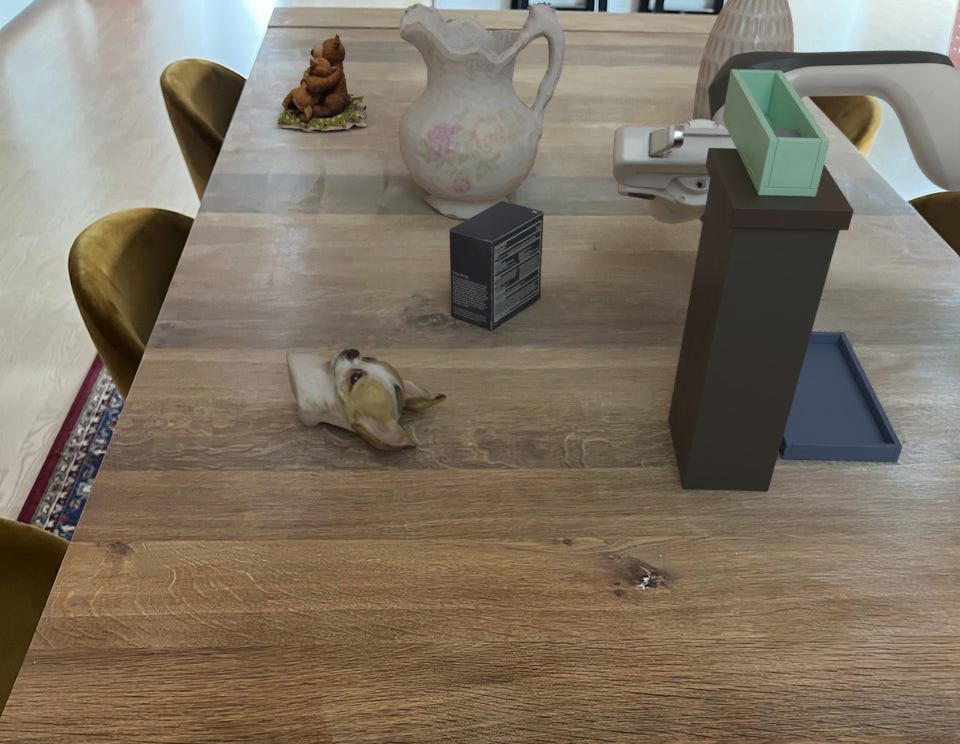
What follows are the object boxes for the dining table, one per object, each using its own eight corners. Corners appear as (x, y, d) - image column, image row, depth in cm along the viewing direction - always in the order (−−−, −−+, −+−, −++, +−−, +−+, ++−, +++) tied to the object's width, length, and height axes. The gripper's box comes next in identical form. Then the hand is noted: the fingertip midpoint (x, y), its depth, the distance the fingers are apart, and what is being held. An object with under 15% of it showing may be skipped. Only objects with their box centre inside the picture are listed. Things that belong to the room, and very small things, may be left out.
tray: (840, 345, 111) (844, 331, 110) (897, 462, 95) (902, 447, 94) (742, 343, 111) (745, 329, 110) (782, 459, 95) (786, 444, 94)
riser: (750, 419, 100) (815, 150, 82) (774, 494, 91) (854, 210, 72) (662, 416, 100) (708, 147, 82) (678, 492, 91) (733, 207, 73)
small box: (498, 284, 121) (501, 197, 114) (542, 298, 119) (547, 211, 111) (447, 315, 115) (446, 226, 108) (492, 331, 112) (494, 241, 105)
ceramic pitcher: (526, 181, 149) (529, -13, 133) (575, 220, 135) (585, 7, 119) (389, 197, 144) (374, -3, 128) (425, 239, 130) (414, 20, 114)
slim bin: (771, 120, 87) (781, 70, 84) (815, 196, 74) (829, 140, 71) (722, 119, 87) (730, 68, 84) (758, 195, 74) (769, 139, 71)
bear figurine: (279, 108, 169) (270, 27, 160) (366, 106, 170) (361, 26, 161) (276, 134, 159) (266, 49, 151) (368, 132, 160) (363, 48, 152)
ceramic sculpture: (307, 310, 96) (451, 341, 94) (312, 386, 103) (447, 417, 100) (260, 362, 89) (415, 397, 87) (269, 441, 96) (413, 476, 93)
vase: (785, 189, 145) (836, -38, 126) (723, 206, 140) (767, -27, 120) (725, 163, 153) (764, -55, 133) (664, 179, 148) (696, -45, 128)
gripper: (786, 199, 109) (828, 172, 96) (603, 194, 109) (620, 167, 96) (792, 137, 107) (835, 101, 94) (606, 132, 107) (624, 96, 94)
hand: (725, 135), depth 95 cm, fingers open, 8 cm apart
